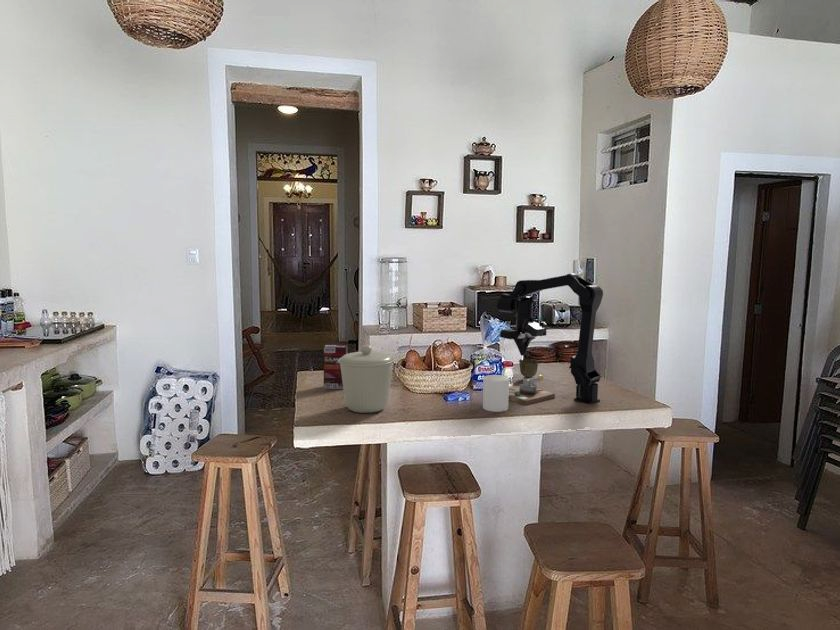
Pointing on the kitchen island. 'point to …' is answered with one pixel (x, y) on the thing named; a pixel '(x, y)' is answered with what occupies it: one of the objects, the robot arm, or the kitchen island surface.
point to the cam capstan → (530, 385)
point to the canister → (366, 379)
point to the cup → (528, 368)
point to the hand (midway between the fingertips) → (522, 355)
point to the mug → (495, 393)
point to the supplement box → (333, 366)
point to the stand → (529, 396)
